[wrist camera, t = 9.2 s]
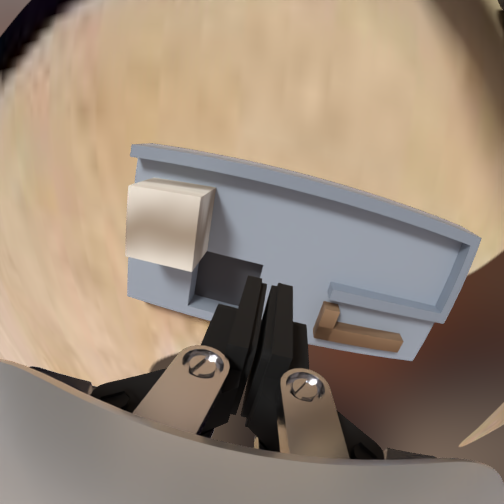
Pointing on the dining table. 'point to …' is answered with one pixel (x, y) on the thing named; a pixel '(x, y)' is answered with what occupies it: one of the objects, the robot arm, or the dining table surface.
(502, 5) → the bundt pan
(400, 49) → the dining table surface
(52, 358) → the dining table surface
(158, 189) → the cream block
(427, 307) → the tray
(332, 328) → the crook tool
